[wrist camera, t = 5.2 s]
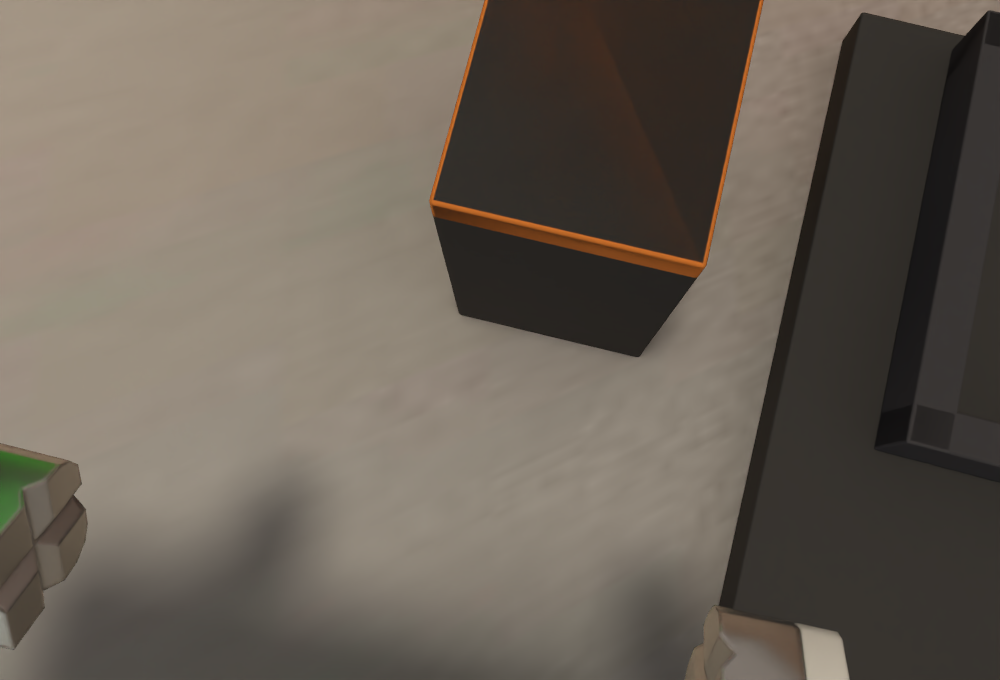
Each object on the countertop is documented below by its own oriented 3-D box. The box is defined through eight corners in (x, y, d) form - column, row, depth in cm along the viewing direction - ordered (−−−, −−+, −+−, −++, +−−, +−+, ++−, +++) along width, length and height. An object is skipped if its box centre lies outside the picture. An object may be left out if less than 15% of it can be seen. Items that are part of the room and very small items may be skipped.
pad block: (639, 357, 25) (706, 268, 16) (458, 314, 26) (428, 202, 17) (693, 118, 26) (781, -84, 18) (520, 80, 27) (522, -139, 18)
